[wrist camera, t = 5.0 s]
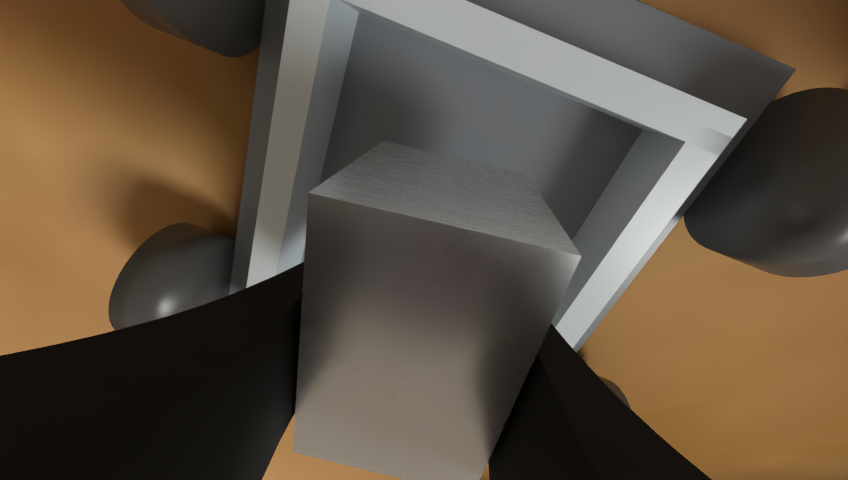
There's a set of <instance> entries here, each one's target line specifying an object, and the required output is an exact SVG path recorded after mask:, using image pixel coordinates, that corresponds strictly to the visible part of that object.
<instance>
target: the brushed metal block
mask: <svg viewBox="0 0 848 480" xmlns="http://www.w3.org/2000/svg"><path fill="white" fill-rule="evenodd" d="M580 259H581V254H580V253H579V251H578V250H577V248H576V247H575V245H574V244H573V242H572V241H571V240H570V238H569V237H568V235H567V234H566V232H565V231H564V229H563V228H562V226H561V225H560V223H559V222H558V220H557V219H556V217H555V216H554V214H553V213H552V211H551V210H550V208H549V207H548V205H547V204H546V202H545V201H544V199H543V198H542V196H541V195H540V193H539V192H538V190H537V189H536V187H535V186H534V184H533V183H532V181H531V180H530V178H529V177H528V175H527V174H526V173H522V172H518V171H514V170H509V169H505V168H500V167H496V166H492V165H487V164H483V163H479V162H474V161H470V160H465V159H461V158H457V157H452V156H448V155H444V154H439V153H435V152H431V151H426V150H422V149H417V148H413V147H409V146H404V145H400V144H396V143H391V142H387V141H383V142H381V143H380V144H379V145H377V146H376V147H374V148H373V149H371V150H370V151H368V152H367V153H365V154H364V155H362V156H361V157H360V158H358V159H357V160H355V161H354V162H352V163H351V164H349V165H348V166H346V167H345V168H343V169H342V170H340V171H339V172H338V173H336V174H335V175H333V176H332V177H330V178H329V179H327V180H326V181H324V182H323V183H321V184H320V185H319V186H317V187H316V188H314V189H313V190H311V191H310V192H308V205H307V222H306V239H305V256H304V273H303V290H302V307H301V323H300V340H299V357H298V374H297V391H296V408H295V425H294V441H293V452H295V453H299V454H303V455H307V456H311V457H315V458H319V459H323V460H327V461H331V462H335V463H339V464H343V465H347V466H352V467H356V468H360V469H364V470H368V471H372V472H376V473H380V474H384V475H388V476H392V477H396V478H400V479H404V480H480V478H481V476H482V473H483V471H484V469H485V467H486V465H487V463H488V460H489V458H490V456H491V454H492V452H493V449H494V447H495V445H496V443H497V441H498V438H499V436H500V434H501V432H502V430H503V427H504V425H505V423H506V421H507V419H508V416H509V414H510V412H511V410H512V408H513V406H514V403H515V401H516V399H517V397H518V395H519V392H520V390H521V388H522V386H523V384H524V381H525V379H526V377H527V375H528V373H529V370H530V368H531V366H532V364H533V362H534V359H535V357H536V355H537V353H538V351H539V349H540V346H541V344H542V342H543V340H544V338H545V335H546V333H547V331H548V329H549V327H550V324H551V322H552V320H553V318H554V316H555V313H556V311H557V309H558V307H559V305H560V302H561V300H562V298H563V296H564V294H565V292H566V289H567V287H568V285H569V283H570V281H571V278H572V276H573V274H574V272H575V270H576V267H577V265H578V263H579V261H580Z"/></svg>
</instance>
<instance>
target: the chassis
mask: <svg viewBox="0 0 848 480" xmlns="http://www.w3.org/2000/svg"><path fill="white" fill-rule="evenodd" d="M121 2H122V3H123V4H124V5H125V6H126V7H127V8H128V9H129V10H130V11H131V12H132V13H133V14H134V15H136V16H137V17H138V18H139V19H141V20H142V21H144V22H145V23H147V24H148V25H150V26H152V27H154V28H157V29H159V30H162V31H164V32H167V33H169V34H172V35H174V36H177V37H179V38H182V39H184V40H187V41H189V42H192V43H194V44H197V45H199V46H202V47H204V48H207V49H209V50H212V51H214V52H217V53H219V54H222V55H224V56H229V57H240V56H244V55H246V54H248V53H250V52H252V51H253V50H254V49H256V48H257V47H258V46H259V45H260V51H259V59H258V67H257V75H256V83H255V91H254V99H253V107H252V115H251V123H250V131H249V139H248V147H247V155H246V163H245V171H244V179H243V188H242V196H241V204H240V212H239V220H238V228H237V236H236V240H234V239H231V238H228V237H225V236H223V235H220V234H217V233H215V232H212V231H209V230H207V229H204V228H201V227H199V226H196V225H193V224H190V223H177V224H173V225H170V226H168V227H165V228H164V229H162V230H160V231H158V232H157V233H155V234H154V235H152V236H151V237H150V238H149V239H147V240H146V241H145V242H144V243H143V244H142V245H141V246H140V247H139V248H138V249H137V250H136V251H135V252H134V254H133V255H132V256H131V257H130V259H129V260H128V261H127V263H126V264H125V266H124V267H123V269H122V271H121V272H120V274H119V276H118V278H117V280H116V282H115V285H114V287H113V290H112V293H111V297H110V301H109V319H110V322H111V325H112V327H113V328H114V329H115V330H119V329H123V328H126V327H130V326H134V325H137V324H141V323H145V322H148V321H152V320H156V319H159V318H163V317H167V316H170V315H173V314H177V313H180V312H183V311H186V310H189V309H192V308H195V307H198V306H201V305H204V304H207V303H209V302H212V301H215V300H218V299H220V298H223V297H226V296H228V295H231V294H233V293H236V292H238V291H240V290H243V289H245V288H247V287H250V286H252V285H255V284H257V283H259V282H262V281H264V280H266V279H269V278H271V277H273V276H275V275H277V274H279V273H282V272H284V271H286V270H288V269H290V268H292V267H294V266H296V265H298V264H300V263H302V262H304V256H305V239H306V222H307V205H308V192H310V191H311V190H313V189H314V188H316V187H317V186H319V185H320V184H321V183H323V182H324V181H326V180H327V179H329V178H330V177H332V176H333V175H335V174H336V173H338V172H339V171H340V170H342V169H343V168H345V167H346V166H348V165H349V164H351V163H352V162H354V161H355V160H357V159H358V158H360V157H361V156H362V155H364V154H365V153H367V152H368V151H370V150H371V149H373V148H374V147H376V146H377V145H379V144H380V143H381V142H383V141H387V142H391V143H396V144H400V145H404V146H409V147H413V148H417V149H422V150H426V151H431V152H435V153H439V154H444V155H448V156H452V157H457V158H461V159H465V160H470V161H474V162H479V163H483V164H487V165H492V166H496V167H500V168H505V169H509V170H514V171H518V172H522V173H526V174H527V175H528V177H529V178H530V180H531V181H532V183H533V184H534V186H535V187H536V189H537V190H538V192H539V193H540V195H541V196H542V198H543V199H544V201H545V202H546V204H547V205H548V207H549V208H550V210H551V211H552V213H553V214H554V216H555V217H556V219H557V220H558V222H559V223H560V225H561V226H562V228H563V229H564V231H565V232H566V234H567V235H568V237H569V238H570V240H571V241H572V242H573V244H574V245H575V247H576V248H577V250H578V251H579V253H580V254H581V259H580V261H579V263H578V265H577V267H576V270H575V272H574V274H573V276H572V278H571V281H570V283H569V285H568V287H567V289H566V292H565V294H564V296H563V298H562V300H561V302H560V305H559V307H558V309H557V311H556V313H555V316H554V318H553V320H552V322H551V323H552V325H553V326H554V327H555V328H556V329H557V331H558V332H559V333H560V334H561V335H562V337H563V338H564V339H565V340H566V341H567V343H568V344H569V345H570V346H571V347H572V348H573V349H574V351H575V352H576V353H577V352H578V350H579V349H580V348H581V346H582V345H583V344H584V342H585V341H586V340H587V339H588V337H589V336H590V335H591V333H592V332H593V331H594V330H595V328H596V327H597V326H598V324H599V323H600V322H601V320H602V319H603V318H604V317H605V315H606V314H607V313H608V311H609V310H610V309H611V308H612V306H613V305H614V304H615V302H616V301H617V300H618V299H619V297H620V296H621V295H622V293H623V292H624V291H625V289H626V288H627V287H628V286H629V284H630V283H631V282H632V280H633V279H634V278H635V277H636V275H637V274H638V273H639V271H640V270H641V269H642V268H643V266H644V265H645V264H646V262H647V261H648V260H649V258H650V257H651V256H652V255H653V253H654V252H655V251H656V249H657V248H658V247H659V246H660V244H661V243H662V242H663V240H664V239H665V238H666V237H667V235H668V234H669V233H670V231H671V230H672V229H673V227H674V226H675V225H676V224H677V222H678V221H679V220H680V218H681V217H682V216H683V215H684V221H685V225H686V228H687V230H688V232H689V234H690V235H691V236H692V238H693V239H694V240H695V241H696V242H697V243H699V244H700V245H702V246H704V247H705V248H708V249H710V250H713V251H715V252H718V253H720V254H723V255H725V256H728V257H730V258H733V259H735V260H738V261H740V262H743V263H745V264H748V265H750V266H753V267H755V268H758V269H760V270H763V271H766V272H768V273H771V274H775V275H780V276H788V277H812V276H821V275H826V274H831V273H836V272H840V271H843V270H846V269H848V91H847V90H844V89H840V88H830V87H829V88H814V89H808V90H804V91H800V92H796V93H793V94H790V95H787V96H785V97H782V98H780V99H777V100H775V101H773V102H771V101H772V100H773V98H774V97H775V96H776V94H777V93H778V92H779V91H780V89H781V88H782V87H783V85H784V84H785V83H786V81H787V80H788V79H789V78H790V76H791V75H792V74H793V72H794V71H795V70H796V69H795V68H792V67H790V66H788V65H785V64H783V63H781V62H778V61H776V60H774V59H771V58H769V57H767V56H764V55H762V54H760V53H758V52H755V51H753V50H751V49H748V48H746V47H744V46H741V45H739V44H737V43H734V42H732V41H730V40H727V39H725V38H723V37H721V36H718V35H716V34H714V33H711V32H709V31H707V30H704V29H702V28H700V27H697V26H695V25H693V24H690V23H688V22H686V21H684V20H681V19H679V18H677V17H674V16H672V15H670V14H667V13H665V12H663V11H660V10H658V9H656V8H653V7H651V6H649V5H647V4H644V3H642V2H640V1H637V0H121ZM770 102H771V103H770ZM598 377H599V378H600V379H601V380H602V381H603V382H604V383H605V384H606V385H607V386H608V387H609V389H610V390H611V391H612V392H613V393H614V394H615V395H616V396H617V397H618V398H619V399H620V400H622V401H623V402H624V403H625V404H626V405H627V406H628V407H629V408H630V406H629V404H628V401H627V399H626V397H625V395H624V394H623V392H622V391H621V390H620V388H619V387H618V386H617V385H616V384H615V383H613V382H612V381H610V380H608V379H606V378H603V377H600V376H598Z"/></svg>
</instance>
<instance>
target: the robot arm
mask: <svg viewBox="0 0 848 480" xmlns="http://www.w3.org/2000/svg"><path fill="white" fill-rule="evenodd" d="M303 273H304V262H302V263H300V264H298V265H296V266H294V267H292V268H290V269H288V270H286V271H284V272H282V273H279V274H277V275H275V276H273V277H271V278H269V279H266V280H264V281H262V282H259V283H257V284H255V285H252V286H250V287H247V288H245V289H243V290H240V291H238V292H236V293H233V294H231V295H228V296H226V297H223V298H220V299H218V300H215V301H212V302H209V303H207V304H204V305H201V306H198V307H195V308H192V309H189V310H186V311H183V312H180V313H177V314H173V315H170V316H167V317H163V318H159V319H156V320H152V321H148V322H145V323H141V324H137V325H134V326H130V327H126V328H123V329H119V330H115V331H112V332H108V333H104V334H100V335H96V336H92V337H87V338H83V339H78V340H74V341H70V342H65V343H61V344H56V345H51V346H47V347H42V348H37V349H32V350H27V351H22V352H17V353H12V354H7V355H2V356H0V480H262V478H263V476H264V474H265V471H266V469H267V467H268V465H269V463H270V461H271V458H272V456H273V454H274V452H275V450H276V448H277V445H278V443H279V441H280V439H281V437H282V436H283V434H284V432H285V430H286V428H287V426H288V424H289V422H290V420H291V419H292V417H293V415H294V414H295V408H296V391H297V374H298V357H299V340H300V323H301V307H302V290H303ZM488 464H489V477H490V480H711V479H710V478H709V477H708V476H706V475H705V474H704V473H703V472H702V471H700V470H699V469H698V468H697V467H696V466H694V465H693V464H692V463H691V462H690V461H688V460H687V459H686V458H685V457H683V456H682V455H681V454H680V453H679V452H677V451H676V450H675V449H674V448H673V447H672V446H671V445H669V444H668V443H667V442H666V441H665V440H664V439H662V438H661V437H660V436H659V435H658V434H657V433H656V432H655V431H654V430H652V429H651V428H650V427H649V426H648V425H647V424H646V423H645V422H644V421H643V420H642V419H641V418H640V417H638V416H637V415H636V414H635V413H634V412H633V411H632V410H631V409H630V408H629V407H628V406H627V405H626V404H625V403H624V402H623V401H622V400H620V399H619V398H618V397H617V396H616V395H615V394H614V393H613V392H612V391H611V390H610V389H609V387H608V386H607V385H606V384H605V383H604V382H603V381H602V380H601V379H600V378H599V377H598V376H597V375H596V374H595V373H594V372H593V371H592V370H591V368H590V367H589V366H588V365H587V364H586V363H585V362H584V361H583V360H582V359H581V357H580V356H579V355H578V354H577V353H576V352H575V351H574V349H573V348H572V347H571V346H570V345H569V344H568V343H567V341H566V340H565V339H564V338H563V337H562V335H561V334H560V333H559V332H558V331H557V329H556V328H555V327H554V326H553V325H552V323H551V324H550V327H549V329H548V331H547V333H546V335H545V338H544V340H543V342H542V344H541V346H540V349H539V351H538V353H537V355H536V357H535V359H534V362H533V364H532V366H531V368H530V370H529V373H528V375H527V377H526V379H525V381H524V384H523V386H522V388H521V390H520V392H519V395H518V397H517V399H516V401H515V403H514V406H513V408H512V410H511V412H510V414H509V416H508V419H507V421H506V423H505V425H504V427H503V430H502V432H501V434H500V436H499V438H498V441H497V443H496V445H495V447H494V449H493V452H492V454H491V456H490V458H489V460H488Z"/></svg>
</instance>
